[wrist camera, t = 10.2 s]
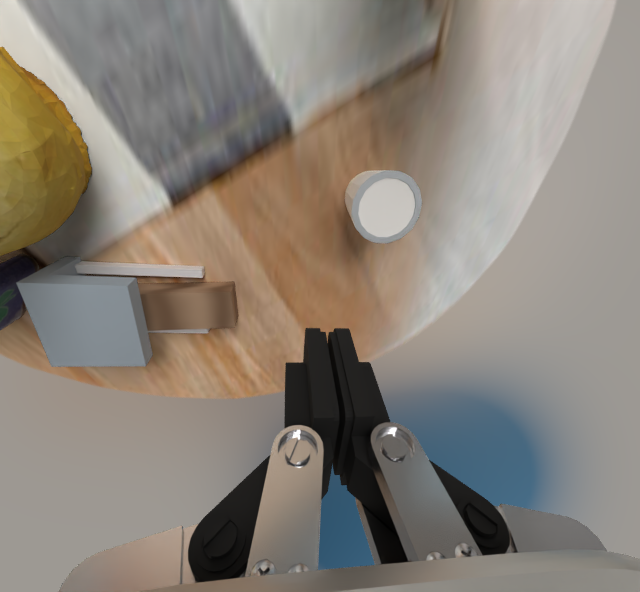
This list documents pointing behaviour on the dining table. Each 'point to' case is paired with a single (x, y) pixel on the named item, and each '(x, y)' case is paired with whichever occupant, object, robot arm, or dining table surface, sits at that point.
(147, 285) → the walnut slat
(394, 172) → the white short cylinder
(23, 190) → the pitcher
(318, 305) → the dining table surface
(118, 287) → the grey block with rails
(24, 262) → the flask
